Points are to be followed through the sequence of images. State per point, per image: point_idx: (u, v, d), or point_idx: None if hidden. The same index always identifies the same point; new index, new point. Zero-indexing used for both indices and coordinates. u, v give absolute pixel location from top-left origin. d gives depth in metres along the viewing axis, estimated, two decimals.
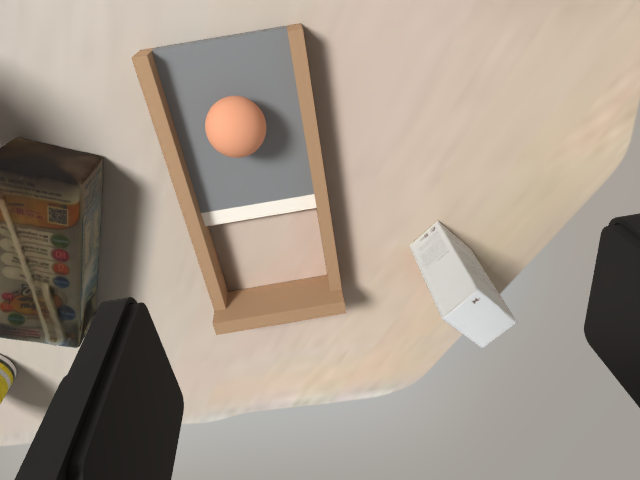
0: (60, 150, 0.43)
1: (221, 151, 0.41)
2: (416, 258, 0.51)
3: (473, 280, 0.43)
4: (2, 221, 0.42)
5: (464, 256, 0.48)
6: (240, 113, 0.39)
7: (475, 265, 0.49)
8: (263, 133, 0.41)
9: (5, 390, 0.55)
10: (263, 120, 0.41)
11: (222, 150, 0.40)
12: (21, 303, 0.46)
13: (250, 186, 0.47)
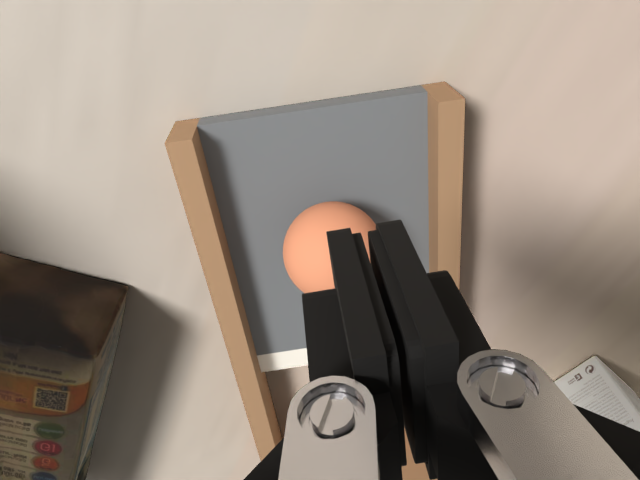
0: (63, 281, 0.27)
1: None
2: None
3: None
4: None
5: None
6: None
7: None
8: None
9: None
10: None
11: None
12: None
13: None
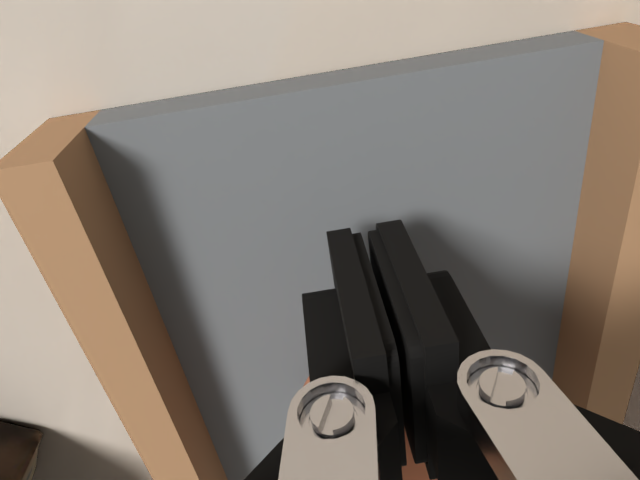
0: None
1: None
2: None
3: None
4: None
5: None
6: None
7: None
8: None
9: None
10: None
11: None
12: None
13: None
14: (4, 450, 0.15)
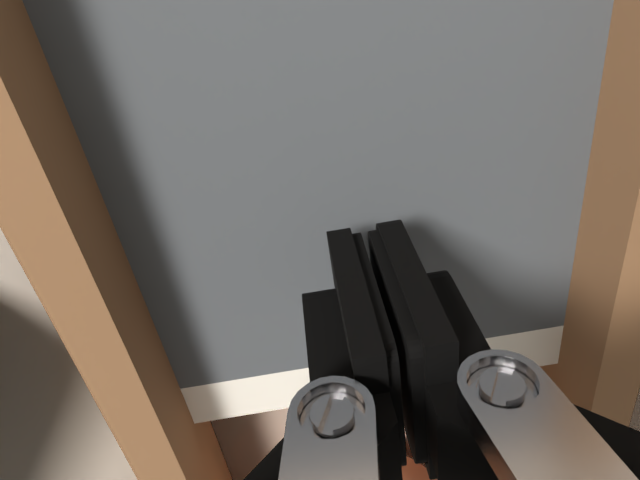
0: None
1: None
2: None
3: None
4: None
5: None
6: None
7: None
8: None
9: None
10: None
11: None
12: None
13: None
14: None
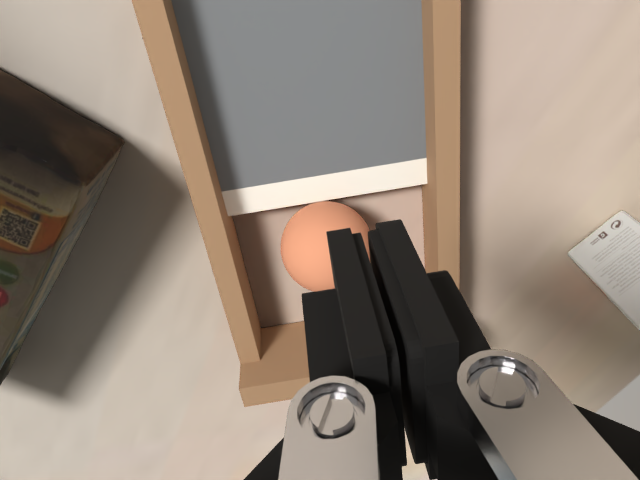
0: (56, 107, 0.23)
1: (299, 252, 0.25)
2: (591, 274, 0.29)
3: None
4: None
5: None
6: None
7: None
8: (367, 234, 0.26)
9: None
10: None
11: (300, 246, 0.25)
12: None
13: (312, 140, 0.26)
14: (106, 135, 0.24)
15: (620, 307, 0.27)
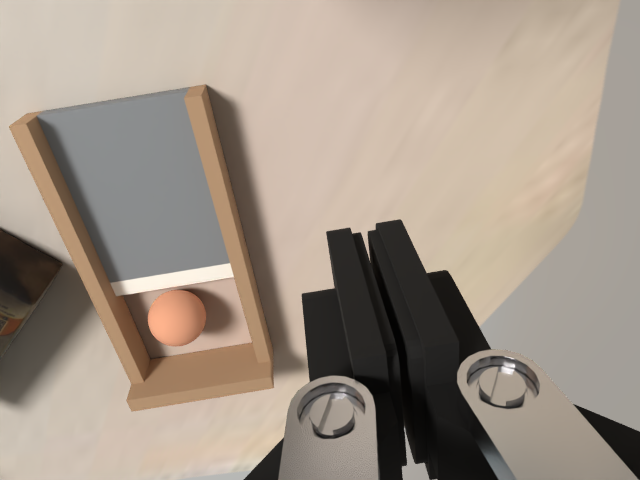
0: (22, 250, 0.41)
1: (154, 327, 0.43)
2: None
3: None
4: None
5: None
6: (179, 291, 0.44)
7: None
8: (198, 314, 0.44)
9: None
10: (201, 305, 0.44)
11: (155, 324, 0.43)
12: None
13: (162, 254, 0.43)
14: (50, 264, 0.42)
15: None
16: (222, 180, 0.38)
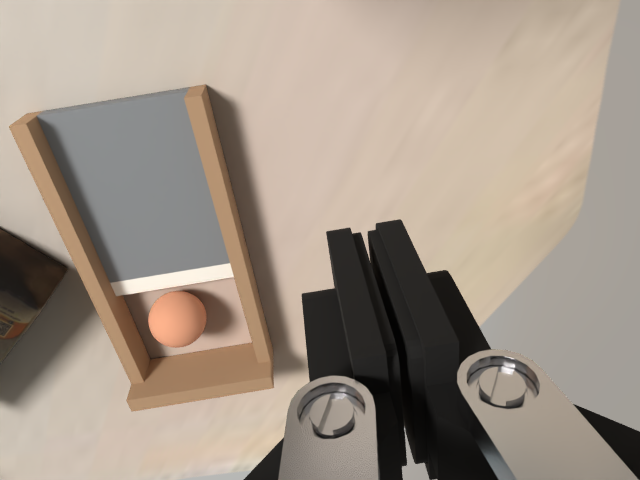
0: (29, 254, 0.41)
1: (155, 329, 0.43)
2: None
3: None
4: None
5: None
6: (179, 293, 0.44)
7: None
8: (198, 316, 0.44)
9: None
10: (201, 307, 0.44)
11: (155, 326, 0.43)
12: None
13: (162, 254, 0.43)
14: (56, 269, 0.43)
15: None
16: (222, 180, 0.38)
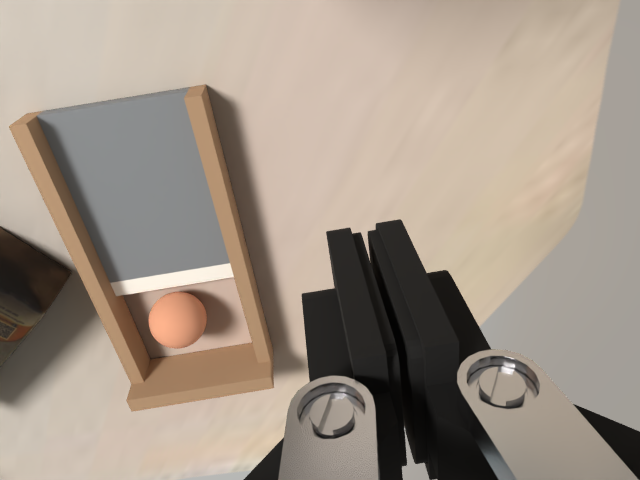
0: (34, 257, 0.42)
1: (155, 331, 0.43)
2: None
3: None
4: None
5: None
6: (179, 295, 0.44)
7: None
8: (199, 317, 0.44)
9: None
10: (201, 308, 0.44)
11: (156, 328, 0.43)
12: None
13: (162, 254, 0.43)
14: (60, 272, 0.43)
15: None
16: (222, 180, 0.38)
